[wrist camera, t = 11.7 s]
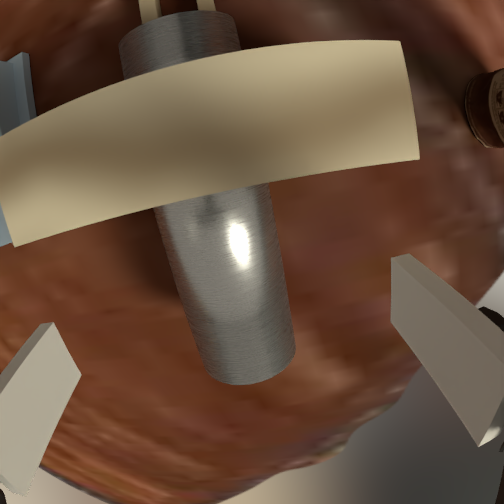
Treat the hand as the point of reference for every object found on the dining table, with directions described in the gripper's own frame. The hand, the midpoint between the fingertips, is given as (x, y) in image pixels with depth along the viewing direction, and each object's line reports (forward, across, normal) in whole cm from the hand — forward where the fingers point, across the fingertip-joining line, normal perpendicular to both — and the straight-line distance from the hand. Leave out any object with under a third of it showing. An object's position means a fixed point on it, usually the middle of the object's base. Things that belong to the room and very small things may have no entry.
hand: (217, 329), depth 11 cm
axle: (+7, 0, +3) cm, 7 cm away
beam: (+12, 0, +7) cm, 13 cm away
